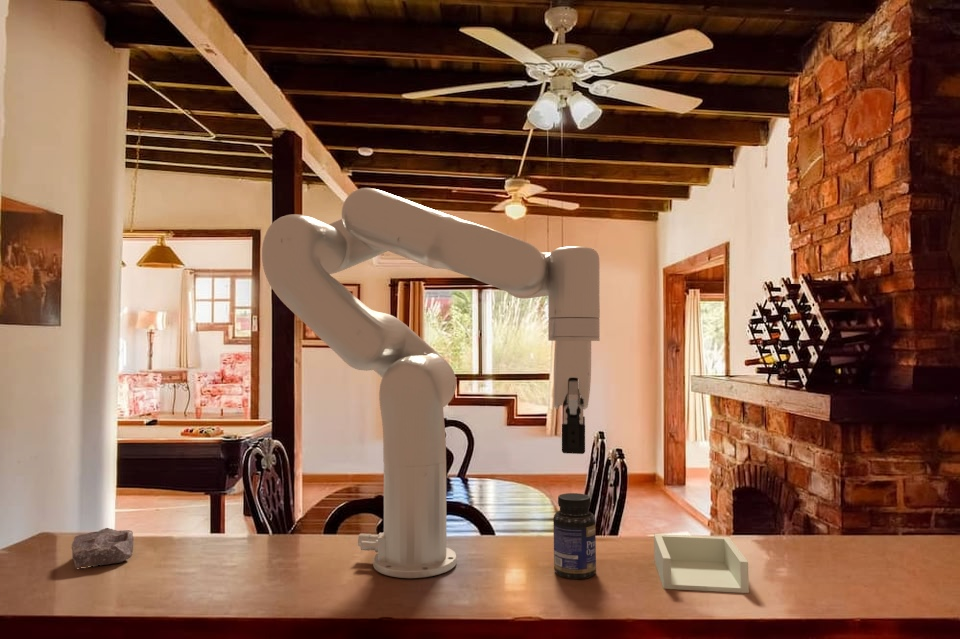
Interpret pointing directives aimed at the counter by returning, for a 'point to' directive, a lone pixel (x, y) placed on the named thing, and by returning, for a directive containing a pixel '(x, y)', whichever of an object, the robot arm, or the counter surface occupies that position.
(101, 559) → the rock
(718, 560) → the holder
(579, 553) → the pill bottle
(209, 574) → the counter surface
